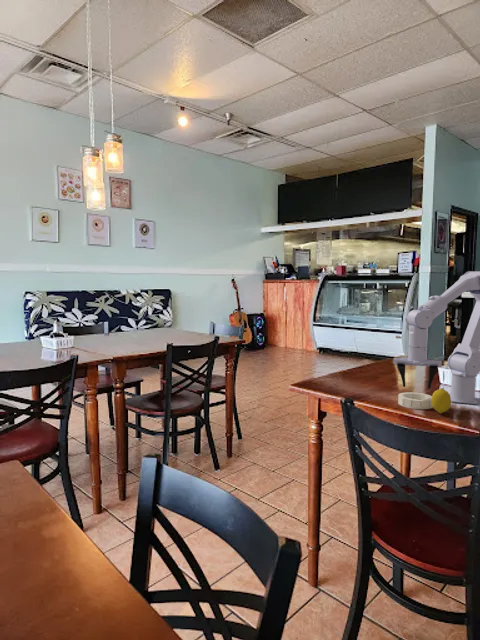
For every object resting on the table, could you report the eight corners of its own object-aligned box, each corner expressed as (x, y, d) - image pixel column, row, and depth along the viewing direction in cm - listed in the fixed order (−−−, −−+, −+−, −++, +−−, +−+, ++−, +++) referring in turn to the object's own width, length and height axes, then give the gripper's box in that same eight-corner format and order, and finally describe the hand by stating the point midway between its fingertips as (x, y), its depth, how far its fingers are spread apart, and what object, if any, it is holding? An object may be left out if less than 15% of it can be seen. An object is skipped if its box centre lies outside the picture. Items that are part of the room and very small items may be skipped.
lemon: (427, 412, 138) (427, 387, 138) (439, 410, 141) (440, 385, 140) (441, 417, 133) (442, 391, 133) (454, 415, 135) (455, 389, 135)
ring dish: (398, 399, 154) (398, 391, 154) (432, 402, 150) (432, 394, 150) (397, 407, 144) (398, 398, 143) (434, 410, 140) (435, 402, 140)
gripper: (394, 347, 144) (393, 388, 145) (443, 349, 139) (441, 391, 140) (394, 344, 151) (393, 383, 152) (441, 346, 146) (439, 386, 147)
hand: (416, 387), depth 146 cm, fingers open, 7 cm apart
